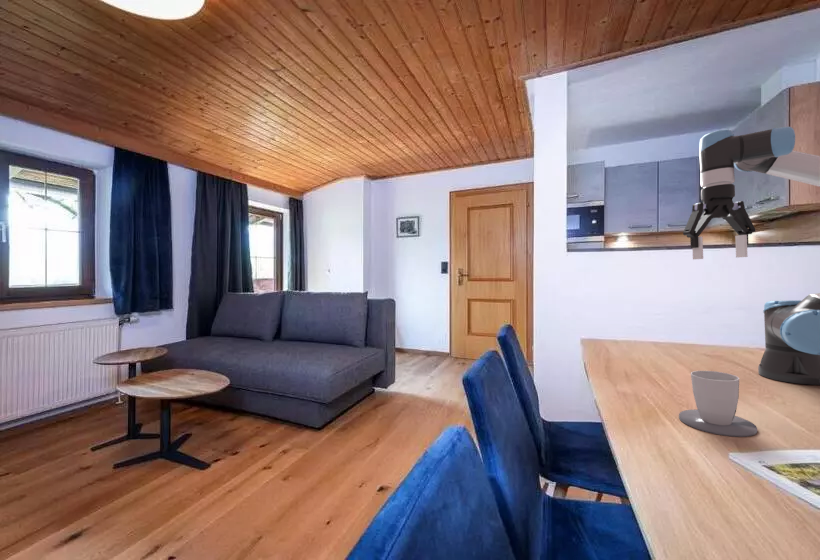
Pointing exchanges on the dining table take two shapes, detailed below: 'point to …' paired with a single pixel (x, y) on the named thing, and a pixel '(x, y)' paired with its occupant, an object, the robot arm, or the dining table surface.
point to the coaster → (735, 429)
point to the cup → (715, 396)
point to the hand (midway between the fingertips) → (719, 258)
